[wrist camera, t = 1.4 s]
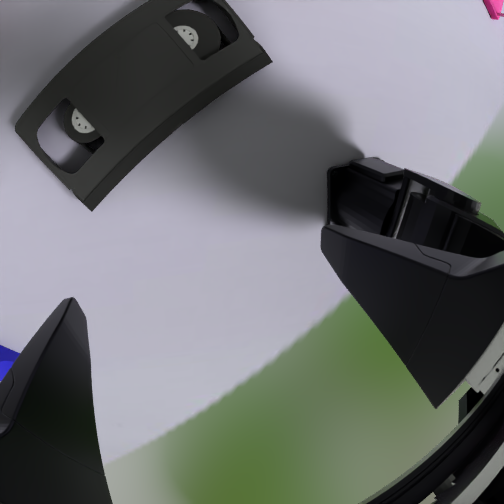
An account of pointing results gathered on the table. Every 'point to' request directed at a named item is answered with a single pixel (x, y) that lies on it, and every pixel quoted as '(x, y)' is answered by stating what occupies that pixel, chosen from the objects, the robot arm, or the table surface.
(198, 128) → the table surface
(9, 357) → the cable holder
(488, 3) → the file sorter
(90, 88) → the vhs tape
